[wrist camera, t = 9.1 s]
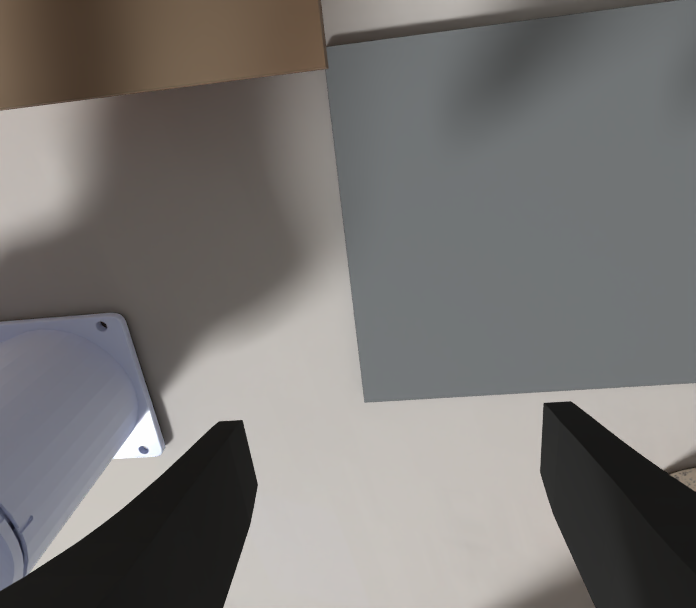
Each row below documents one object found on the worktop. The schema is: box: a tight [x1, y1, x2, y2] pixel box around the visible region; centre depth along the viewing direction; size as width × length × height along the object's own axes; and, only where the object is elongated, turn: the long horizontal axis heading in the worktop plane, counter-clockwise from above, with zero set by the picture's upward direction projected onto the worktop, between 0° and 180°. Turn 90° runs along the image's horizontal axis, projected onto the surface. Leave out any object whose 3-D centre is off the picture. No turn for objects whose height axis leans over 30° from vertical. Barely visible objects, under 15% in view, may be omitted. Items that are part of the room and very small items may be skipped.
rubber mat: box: [325, 0, 696, 403], centre depth 20 cm, size 15×15×1 cm
